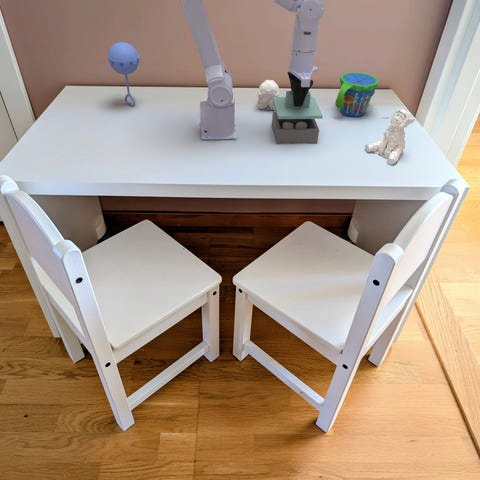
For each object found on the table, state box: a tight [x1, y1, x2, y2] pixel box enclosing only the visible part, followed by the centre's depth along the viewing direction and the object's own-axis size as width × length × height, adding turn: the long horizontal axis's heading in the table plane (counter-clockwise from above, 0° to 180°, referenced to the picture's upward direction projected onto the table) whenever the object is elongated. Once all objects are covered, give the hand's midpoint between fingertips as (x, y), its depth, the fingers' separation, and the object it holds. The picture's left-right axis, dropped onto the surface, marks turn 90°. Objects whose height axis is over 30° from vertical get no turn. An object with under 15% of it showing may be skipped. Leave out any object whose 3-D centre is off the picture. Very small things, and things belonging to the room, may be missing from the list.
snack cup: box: [334, 72, 379, 118], centre depth 119 cm, size 16×10×10 cm
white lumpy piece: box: [257, 79, 280, 111], centre depth 123 cm, size 6×8×12 cm
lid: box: [273, 90, 323, 120], centre depth 106 cm, size 11×11×5 cm
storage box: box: [271, 110, 320, 145], centre depth 111 cm, size 11×11×4 cm
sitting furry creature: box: [364, 107, 416, 166], centre depth 101 cm, size 10×9×12 cm
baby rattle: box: [107, 41, 140, 107], centre depth 118 cm, size 9×9×18 cm
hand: (297, 103), depth 106 cm, fingers closed on lid, 2 cm apart
